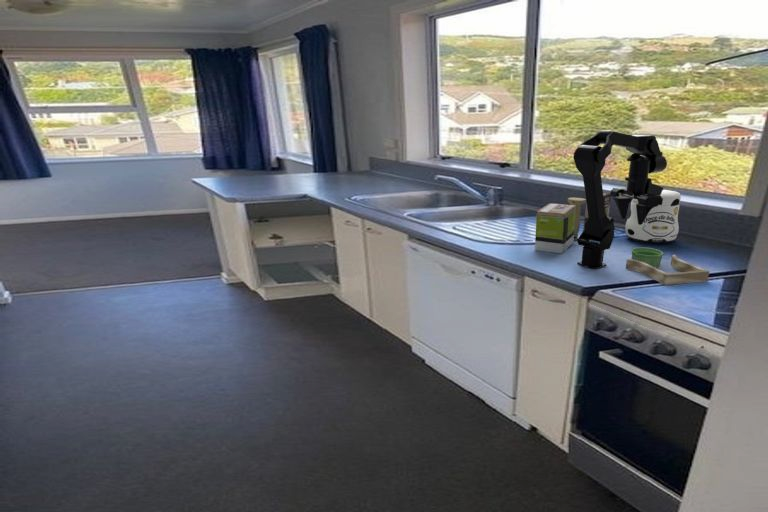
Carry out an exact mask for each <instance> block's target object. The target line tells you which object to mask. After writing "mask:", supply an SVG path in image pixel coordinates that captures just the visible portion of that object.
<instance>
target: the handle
mask: <svg viewBox="0 0 768 512" xmlns="http://www.w3.org/2000/svg"><path fill="white" fill-rule="evenodd" d="M567 203H569V205H576V212H575V226H574V237H576V238H579V237H578V236H579V232H580V226H581V207H582V205H584V204H586V198H582V197H568V198H567Z"/></svg>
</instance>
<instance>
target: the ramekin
mask: <svg viewBox="0 0 768 512" xmlns="http://www.w3.org/2000/svg"><path fill="white" fill-rule="evenodd" d="M663 256H664V252H663V251H662V250H660V249H656V248H652V247H634V248H632V249H631V259H632V260H637V261H641V262H644V263H646V264H648V265H651V266H653V267H656V268H659V267H660V265H661V262H662V259H663Z"/></svg>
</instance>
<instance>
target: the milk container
mask: <svg viewBox="0 0 768 512" xmlns="http://www.w3.org/2000/svg"><path fill="white" fill-rule="evenodd" d="M645 195H647V194H645ZM660 196H661V197H662V198H663V202H662V205H658V206H657V207H654V208H652V209H651V210H650V211H649V213H648V215H647V216H646V218H645V220H644V222H643V224H642V225H639V224H638V219H637V210H636V204H639V203H638V200H637V199H632V201H631V202H630V208H629V209H630V210H629V216H628V217H627V220H626V222H625V234H626V236H627V237H628V238H629V239H631V240H634V241H636V242H640V243H641V242H642V243H645V244H647V243H648V244H666V243H667V244H668V243H670V242H673V241H675V239H676V238H677V236H678V234H679V230H680V227H679V226H680V225H679V219H678V218H679V211H680V203H681V193H680V192H678V191H675V190H668V189H663V191H662V193H661V195H660ZM637 197H638V196H637Z"/></svg>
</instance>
